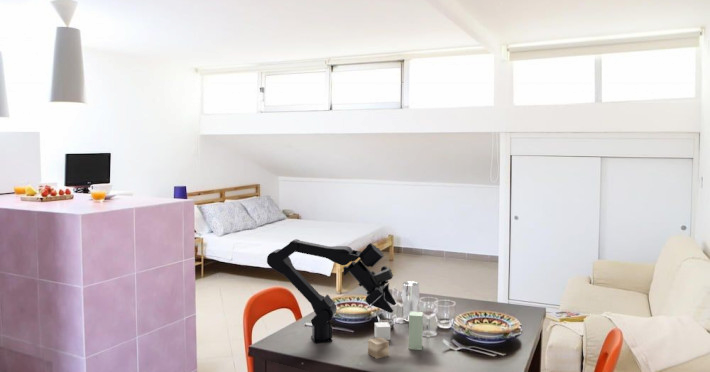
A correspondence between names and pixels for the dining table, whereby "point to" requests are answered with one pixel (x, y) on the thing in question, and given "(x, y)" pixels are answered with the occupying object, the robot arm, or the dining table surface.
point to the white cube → (382, 330)
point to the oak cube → (378, 347)
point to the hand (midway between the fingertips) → (393, 308)
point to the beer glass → (410, 298)
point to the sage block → (415, 330)
